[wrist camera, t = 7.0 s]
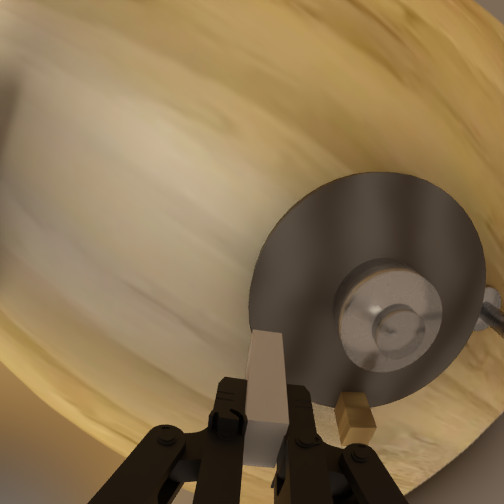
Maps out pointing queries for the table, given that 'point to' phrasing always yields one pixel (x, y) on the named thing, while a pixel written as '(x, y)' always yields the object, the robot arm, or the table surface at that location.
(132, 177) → the table surface
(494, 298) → the dial post
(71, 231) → the table surface
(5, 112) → the table surface
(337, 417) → the turntable
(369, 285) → the cover
